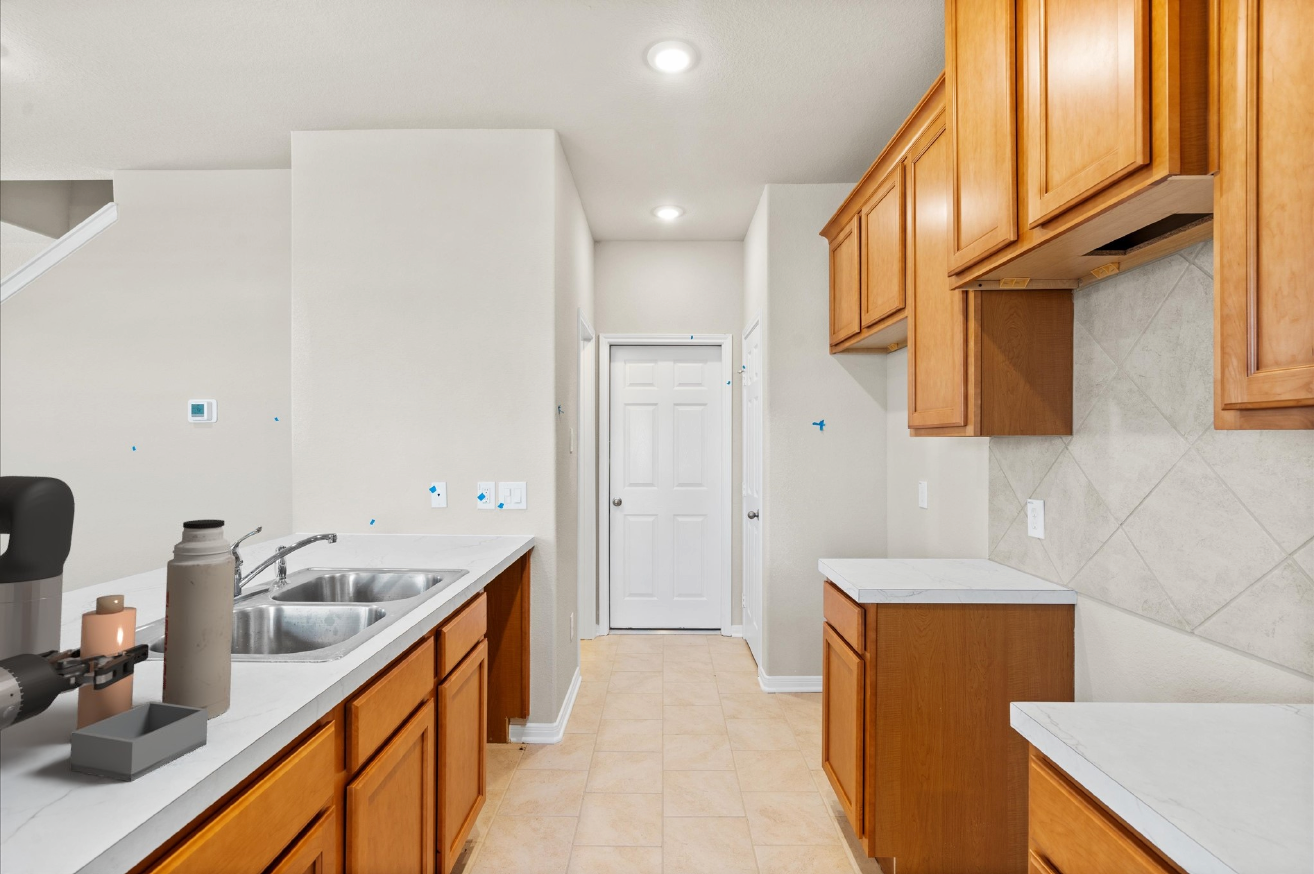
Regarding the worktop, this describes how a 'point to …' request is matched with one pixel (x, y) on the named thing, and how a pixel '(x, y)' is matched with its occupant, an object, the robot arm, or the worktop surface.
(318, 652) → the worktop surface
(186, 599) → the thermos bottle
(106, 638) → the oil bottle
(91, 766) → the bin
